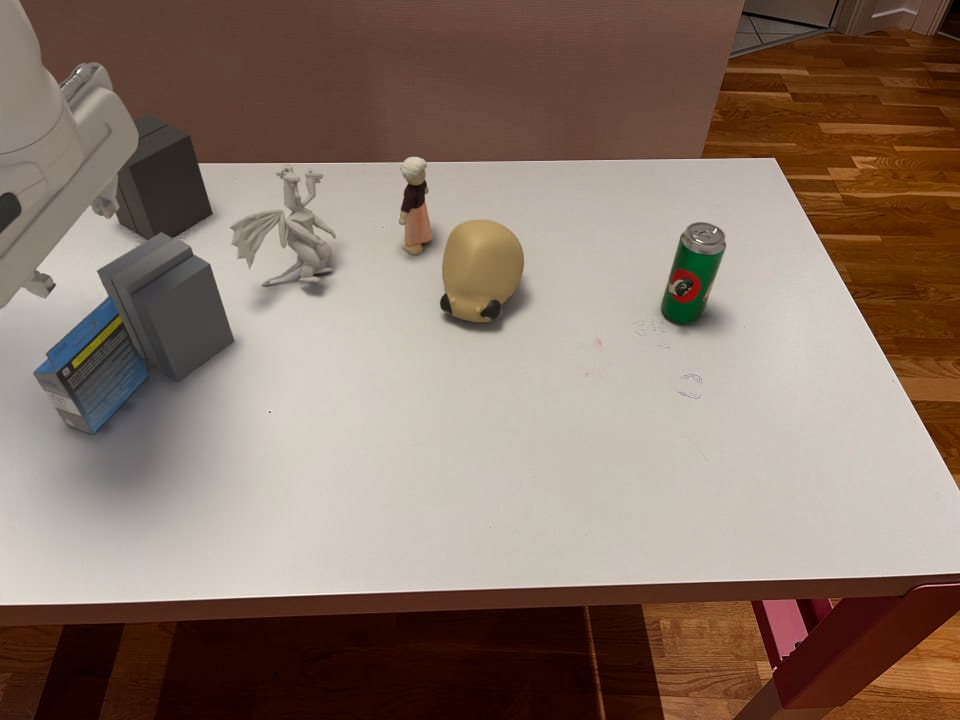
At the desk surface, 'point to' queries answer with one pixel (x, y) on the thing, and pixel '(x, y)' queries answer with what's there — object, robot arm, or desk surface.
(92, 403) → the blue retail box
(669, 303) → the soda can
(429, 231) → the grandmother figurine
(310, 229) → the dragon figurine
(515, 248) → the tan toy animal
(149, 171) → the dark grey block
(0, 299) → the robot arm
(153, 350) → the grey upright block
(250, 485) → the desk surface
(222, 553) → the desk surface
